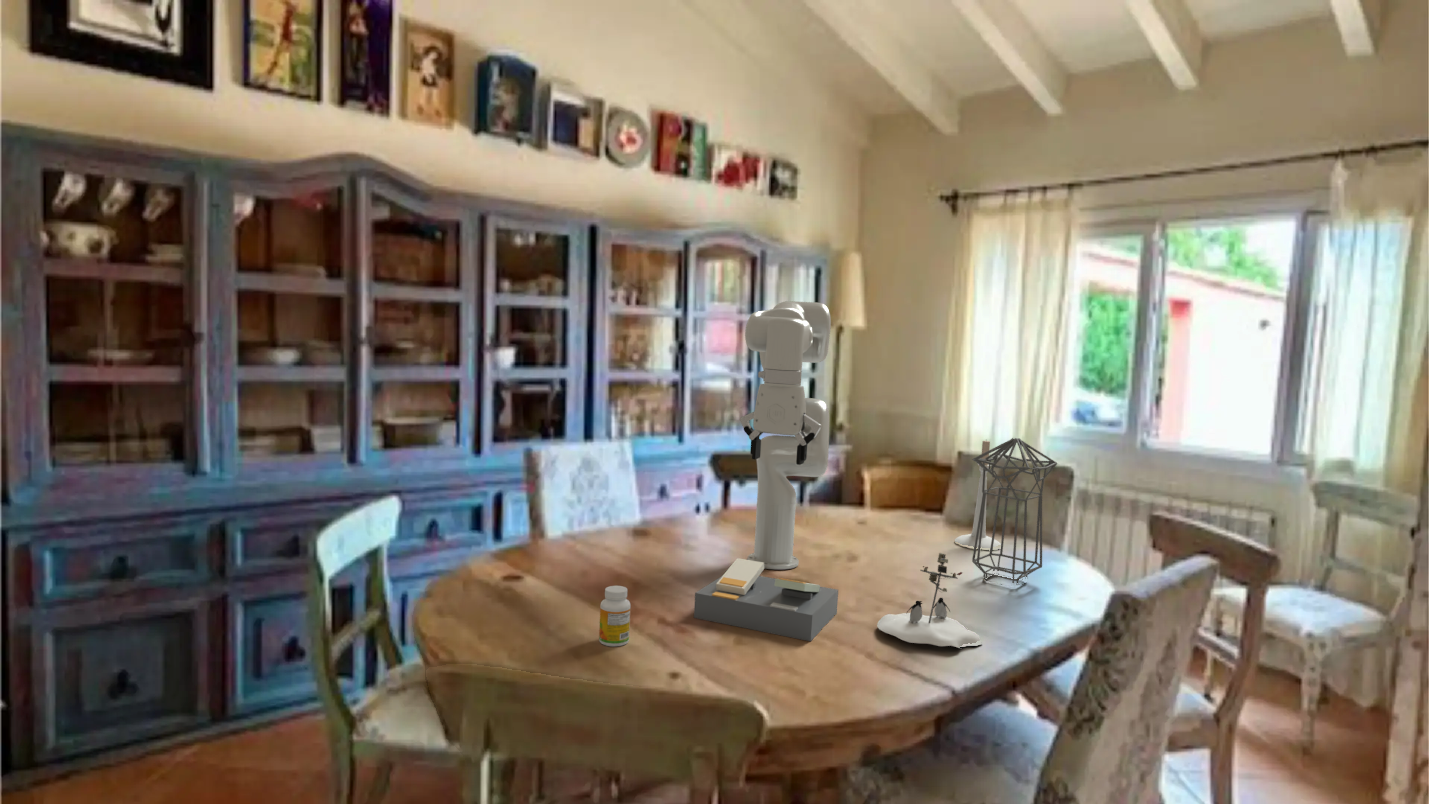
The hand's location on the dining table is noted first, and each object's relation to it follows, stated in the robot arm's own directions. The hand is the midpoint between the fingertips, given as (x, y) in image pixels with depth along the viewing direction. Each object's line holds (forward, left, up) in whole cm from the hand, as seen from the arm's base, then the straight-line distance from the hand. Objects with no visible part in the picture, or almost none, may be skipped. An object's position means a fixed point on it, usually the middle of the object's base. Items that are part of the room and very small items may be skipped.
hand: (777, 461), depth 175 cm
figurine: (+1, +33, -31) cm, 45 cm away
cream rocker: (+7, -4, -24) cm, 25 cm away
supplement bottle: (+35, -17, -31) cm, 49 cm away
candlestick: (-81, +33, -31) cm, 93 cm away
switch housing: (+7, +2, -30) cm, 31 cm away
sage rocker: (+7, +8, -24) cm, 26 cm away
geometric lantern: (-46, +43, -31) cm, 70 cm away
